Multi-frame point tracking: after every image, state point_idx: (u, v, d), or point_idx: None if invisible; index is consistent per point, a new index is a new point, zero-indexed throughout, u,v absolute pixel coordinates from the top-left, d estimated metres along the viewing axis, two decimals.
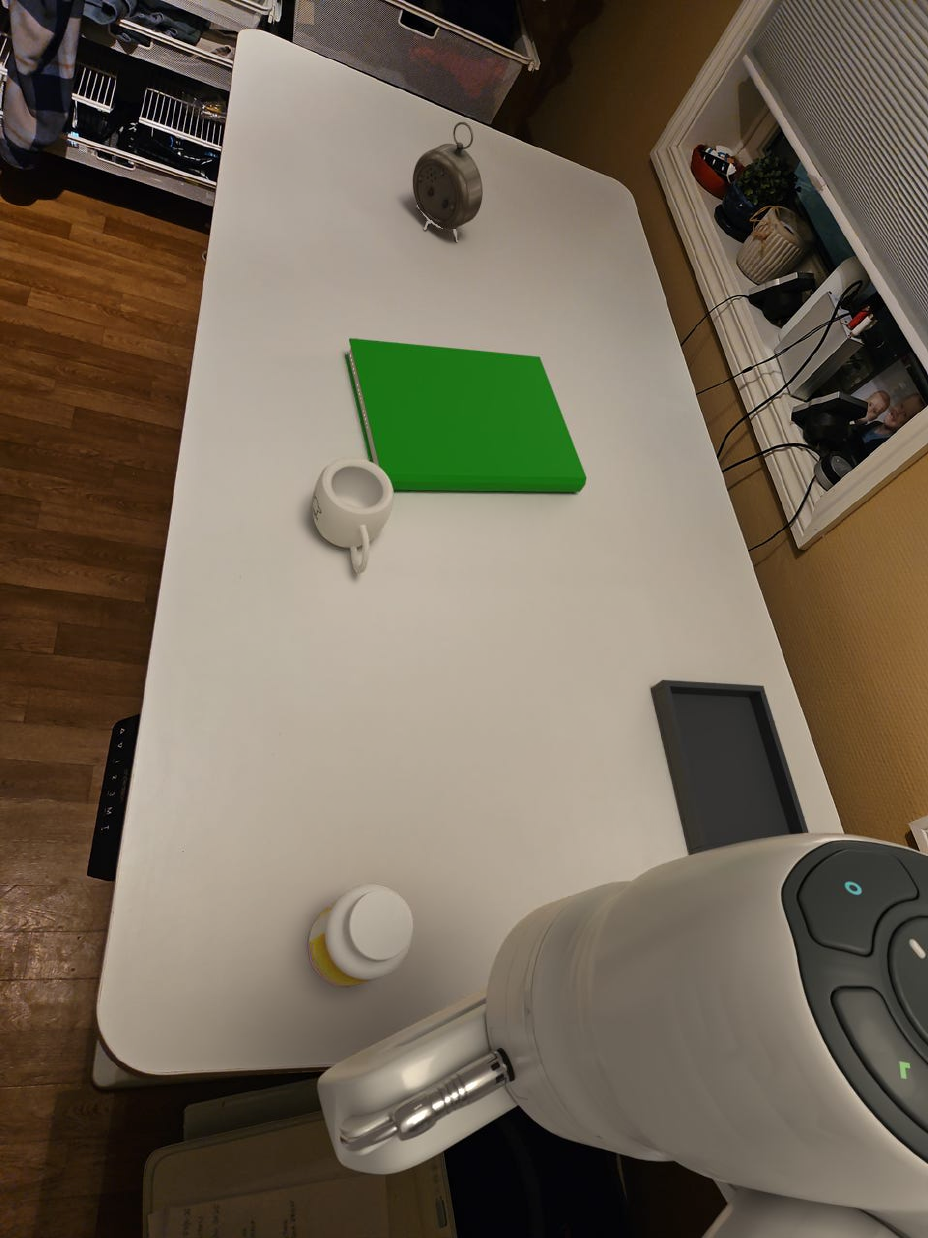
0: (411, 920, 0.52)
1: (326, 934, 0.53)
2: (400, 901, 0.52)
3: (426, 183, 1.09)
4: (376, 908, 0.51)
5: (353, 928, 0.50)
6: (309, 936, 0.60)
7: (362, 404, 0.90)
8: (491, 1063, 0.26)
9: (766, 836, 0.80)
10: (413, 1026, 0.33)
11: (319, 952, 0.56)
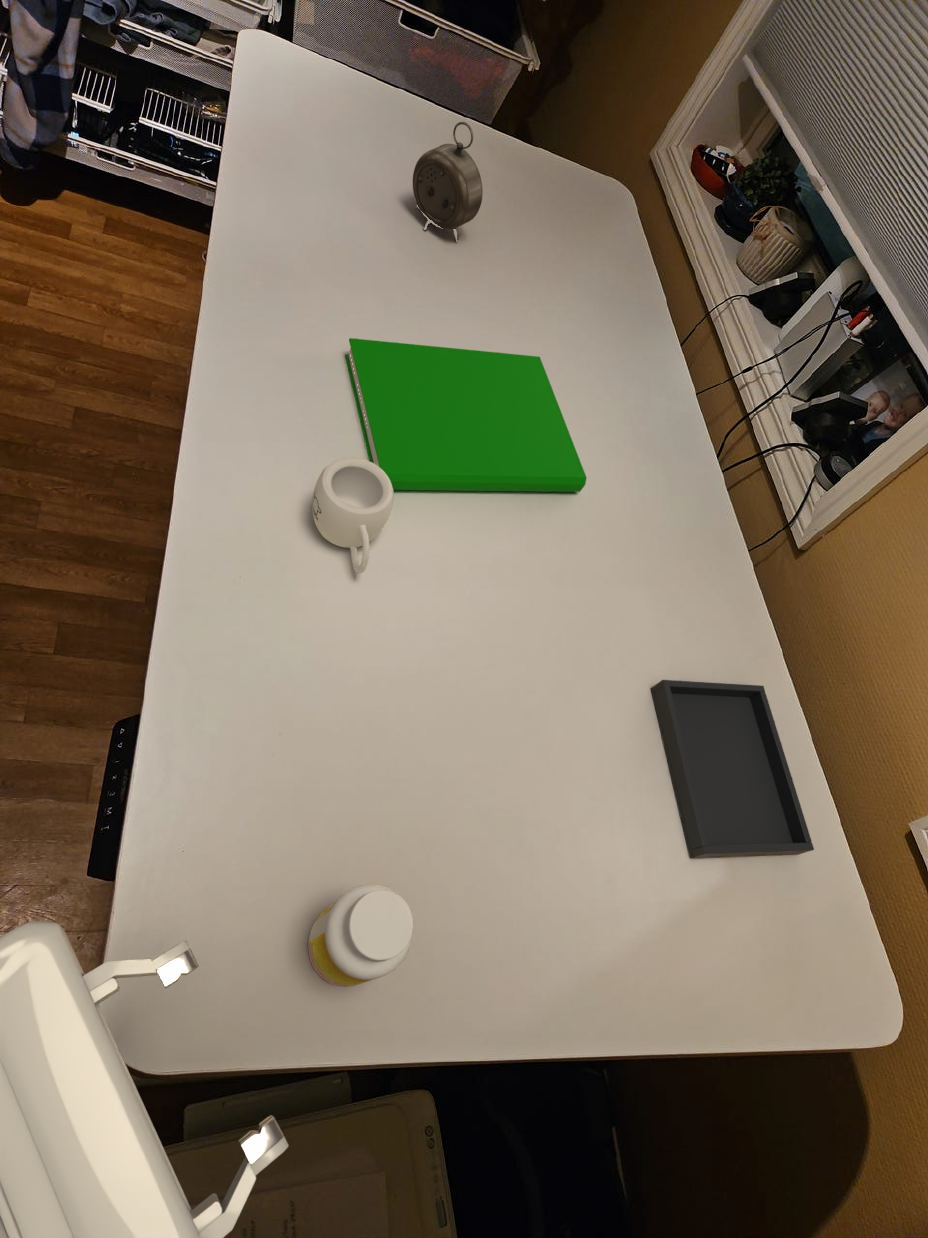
0: (411, 920, 0.52)
1: (326, 934, 0.53)
2: (400, 901, 0.52)
3: (426, 183, 1.09)
4: (376, 908, 0.51)
5: (353, 928, 0.50)
6: (309, 936, 0.60)
7: (362, 404, 0.90)
8: None
9: (766, 836, 0.80)
10: None
11: (319, 952, 0.56)
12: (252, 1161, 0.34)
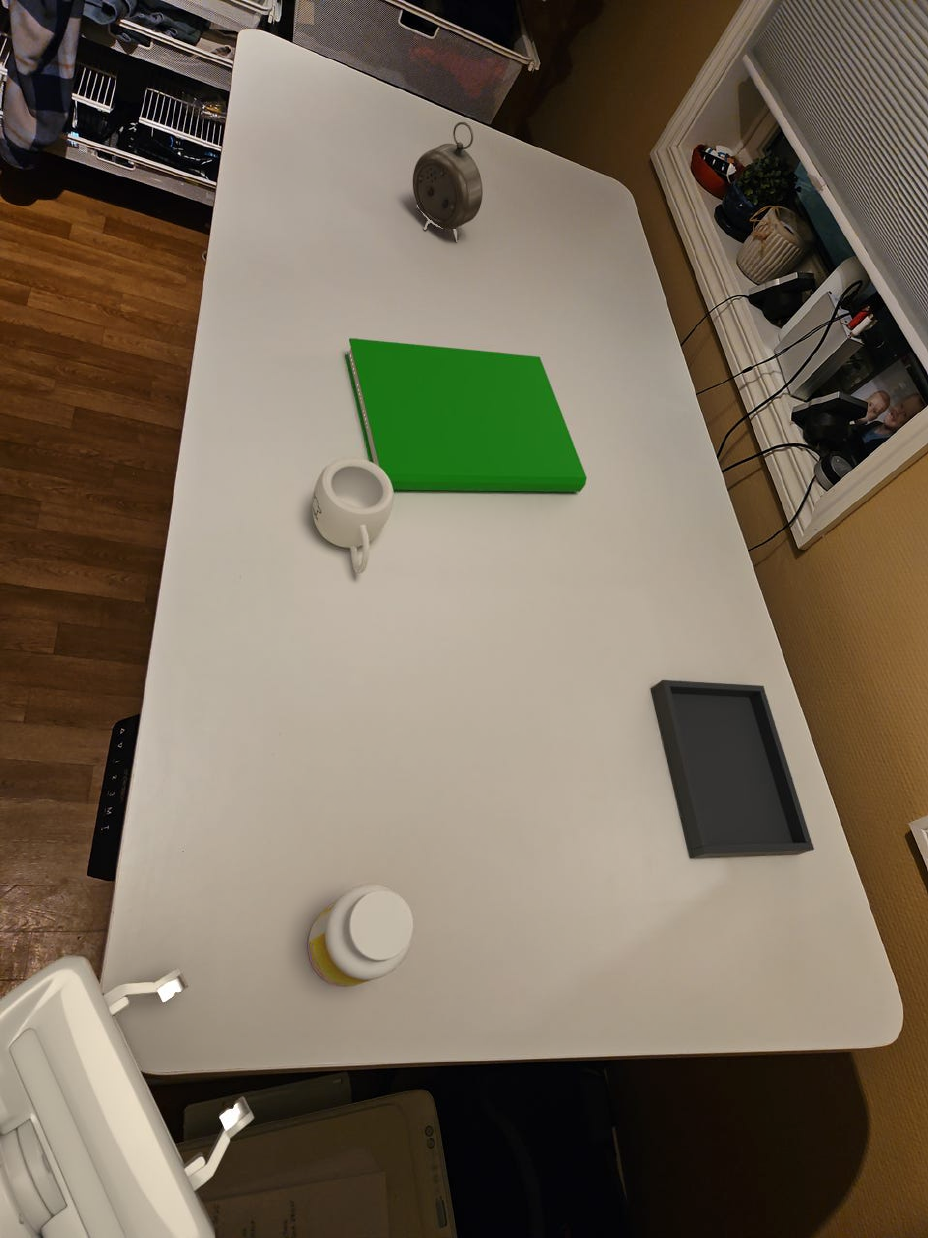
0: (411, 920, 0.52)
1: (326, 934, 0.53)
2: (400, 901, 0.52)
3: (426, 183, 1.09)
4: (376, 909, 0.51)
5: (353, 928, 0.50)
6: (309, 936, 0.60)
7: (362, 404, 0.90)
8: None
9: (766, 836, 0.80)
10: None
11: (319, 952, 0.55)
12: (227, 1128, 0.46)
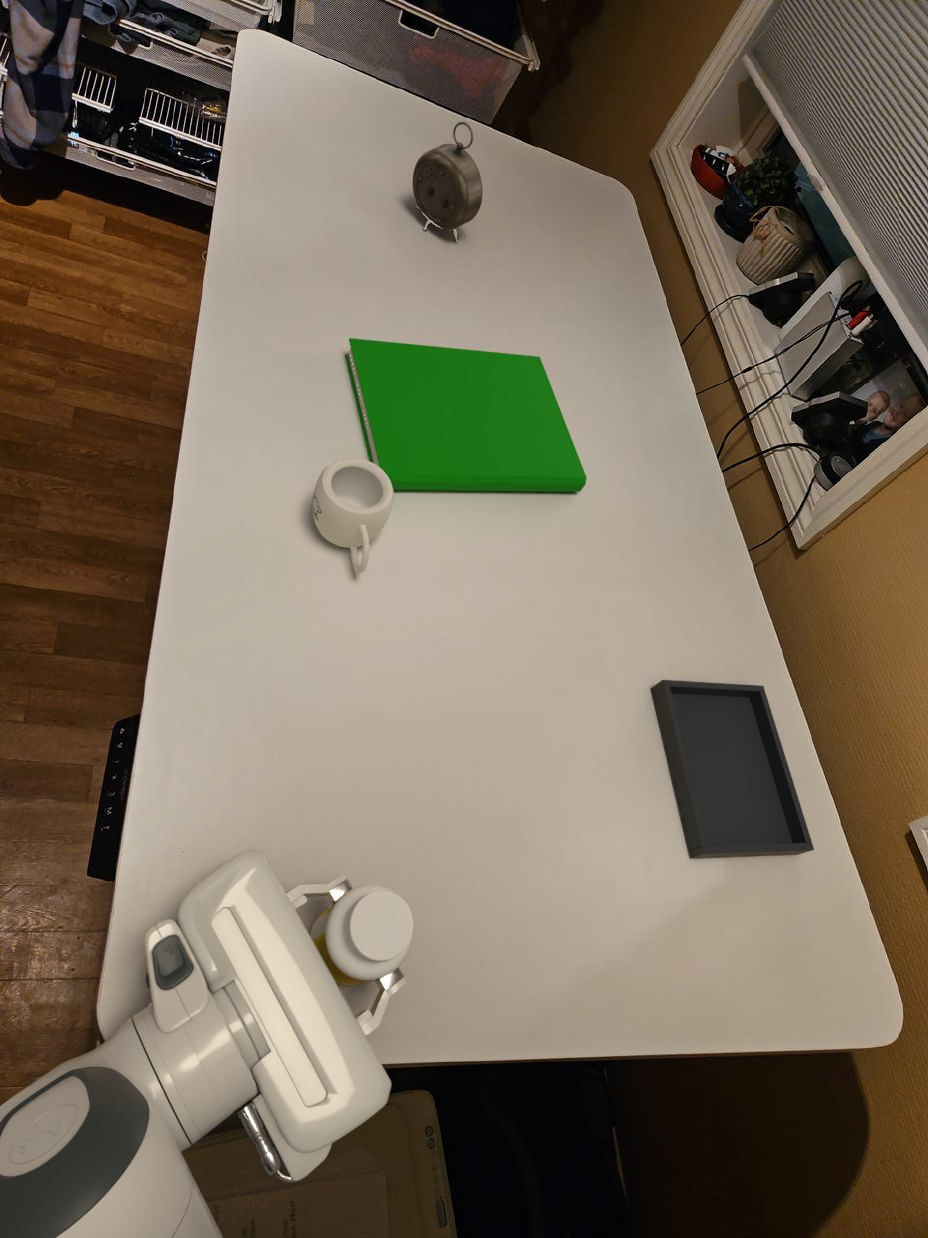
0: (411, 921, 0.52)
1: (326, 935, 0.53)
2: (400, 902, 0.52)
3: (426, 183, 1.09)
4: (376, 909, 0.51)
5: (354, 928, 0.50)
6: None
7: (362, 404, 0.90)
8: None
9: (766, 836, 0.80)
10: None
11: (319, 952, 0.55)
12: (387, 988, 0.53)
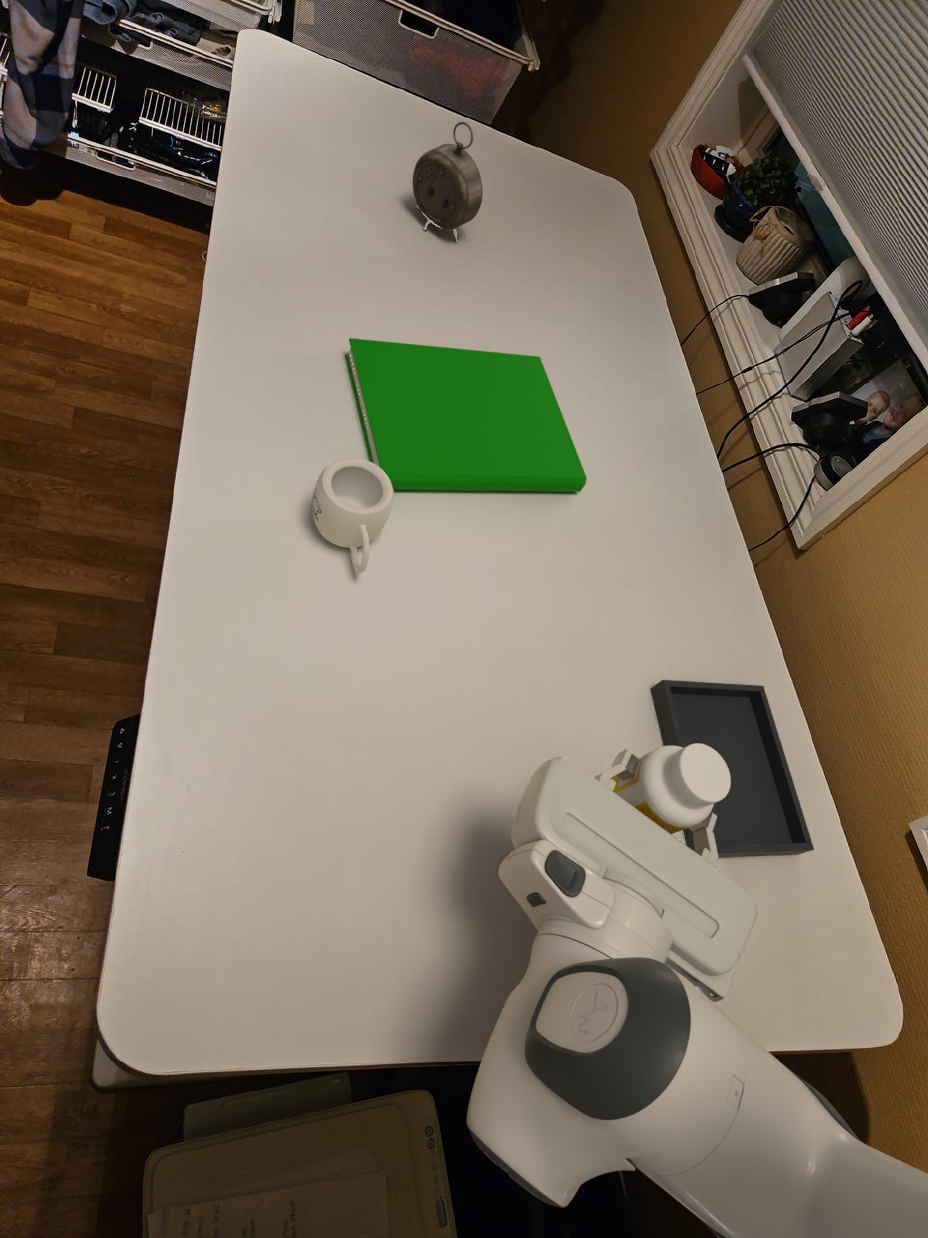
0: (723, 760, 0.57)
1: (651, 802, 0.57)
2: (707, 748, 0.57)
3: (426, 183, 1.09)
4: (695, 761, 0.56)
5: (689, 783, 0.54)
6: None
7: (362, 404, 0.90)
8: None
9: (766, 836, 0.80)
10: None
11: None
12: (707, 826, 0.59)
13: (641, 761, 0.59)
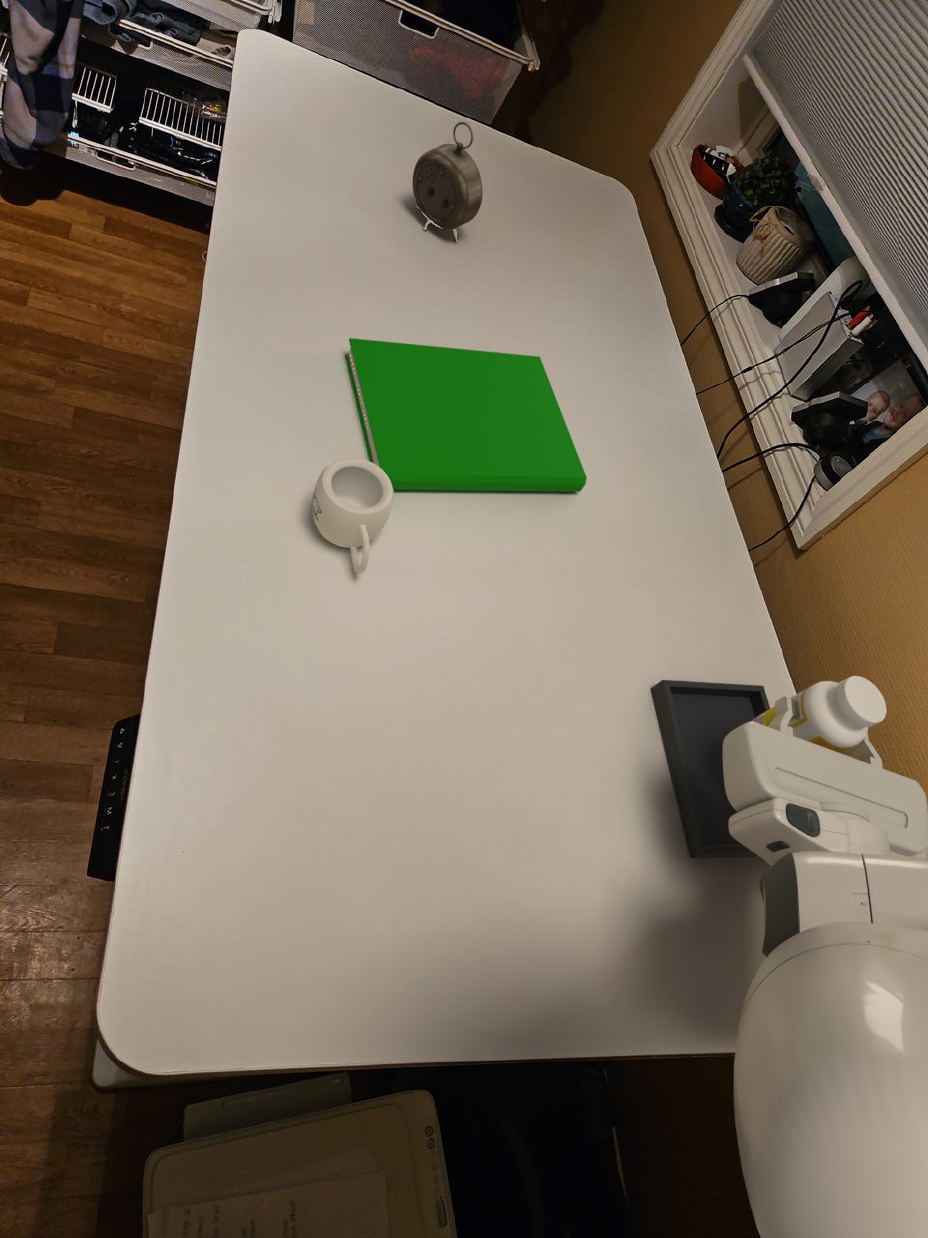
0: (872, 683, 0.67)
1: (825, 735, 0.67)
2: (859, 678, 0.67)
3: (426, 183, 1.09)
4: (856, 692, 0.66)
5: (860, 713, 0.65)
6: None
7: (362, 404, 0.90)
8: None
9: None
10: None
11: None
12: (864, 738, 0.70)
13: (801, 703, 0.69)
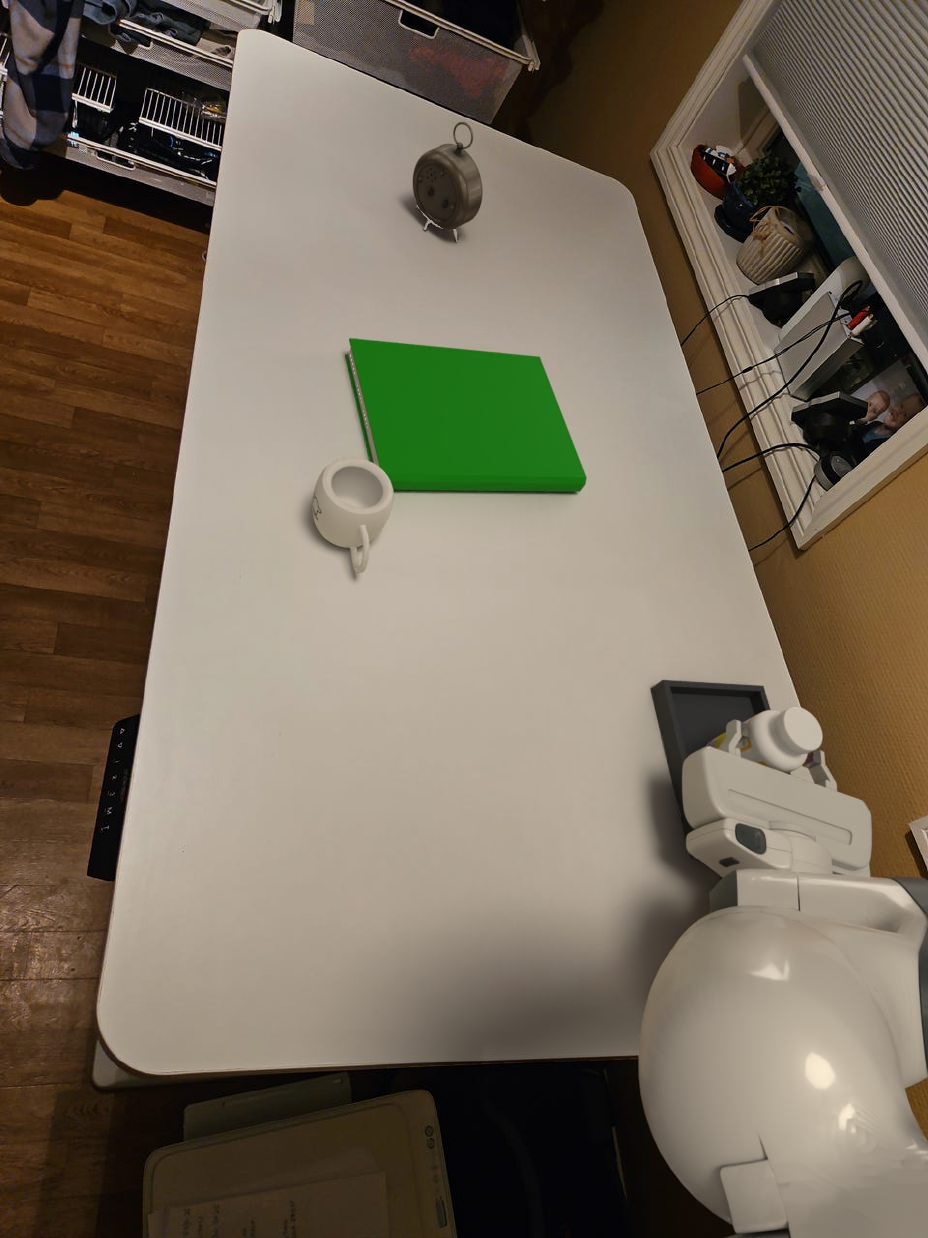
0: (810, 714, 0.74)
1: (767, 760, 0.73)
2: (798, 709, 0.73)
3: (426, 183, 1.09)
4: (794, 722, 0.72)
5: (797, 741, 0.71)
6: None
7: (362, 404, 0.90)
8: None
9: None
10: None
11: None
12: (820, 762, 0.76)
13: None
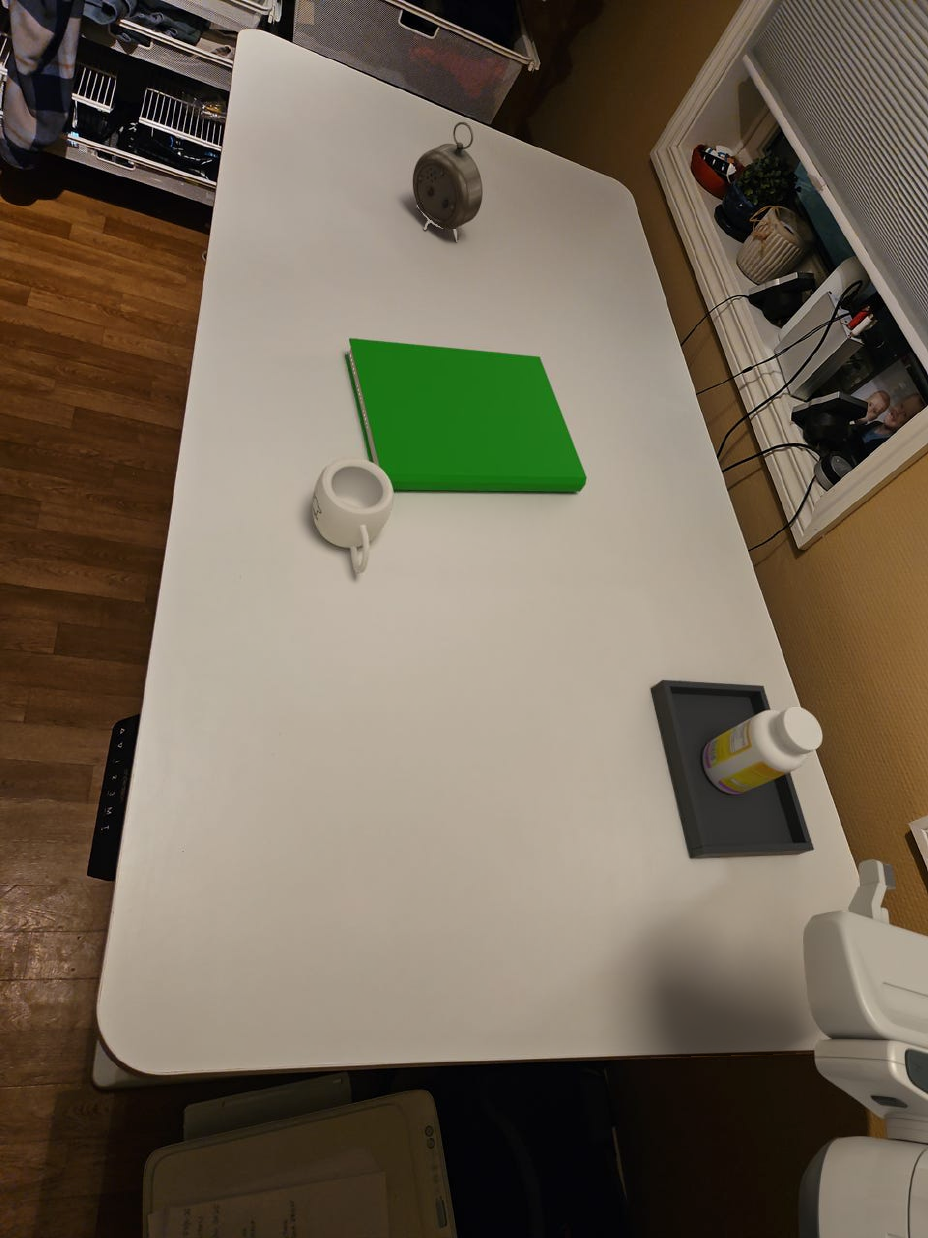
0: (810, 714, 0.74)
1: (767, 760, 0.73)
2: (798, 709, 0.73)
3: (426, 183, 1.09)
4: (794, 722, 0.72)
5: (797, 741, 0.71)
6: (712, 779, 0.80)
7: (362, 404, 0.90)
8: None
9: (766, 836, 0.80)
10: None
11: (750, 777, 0.77)
12: None
13: (747, 730, 0.76)
